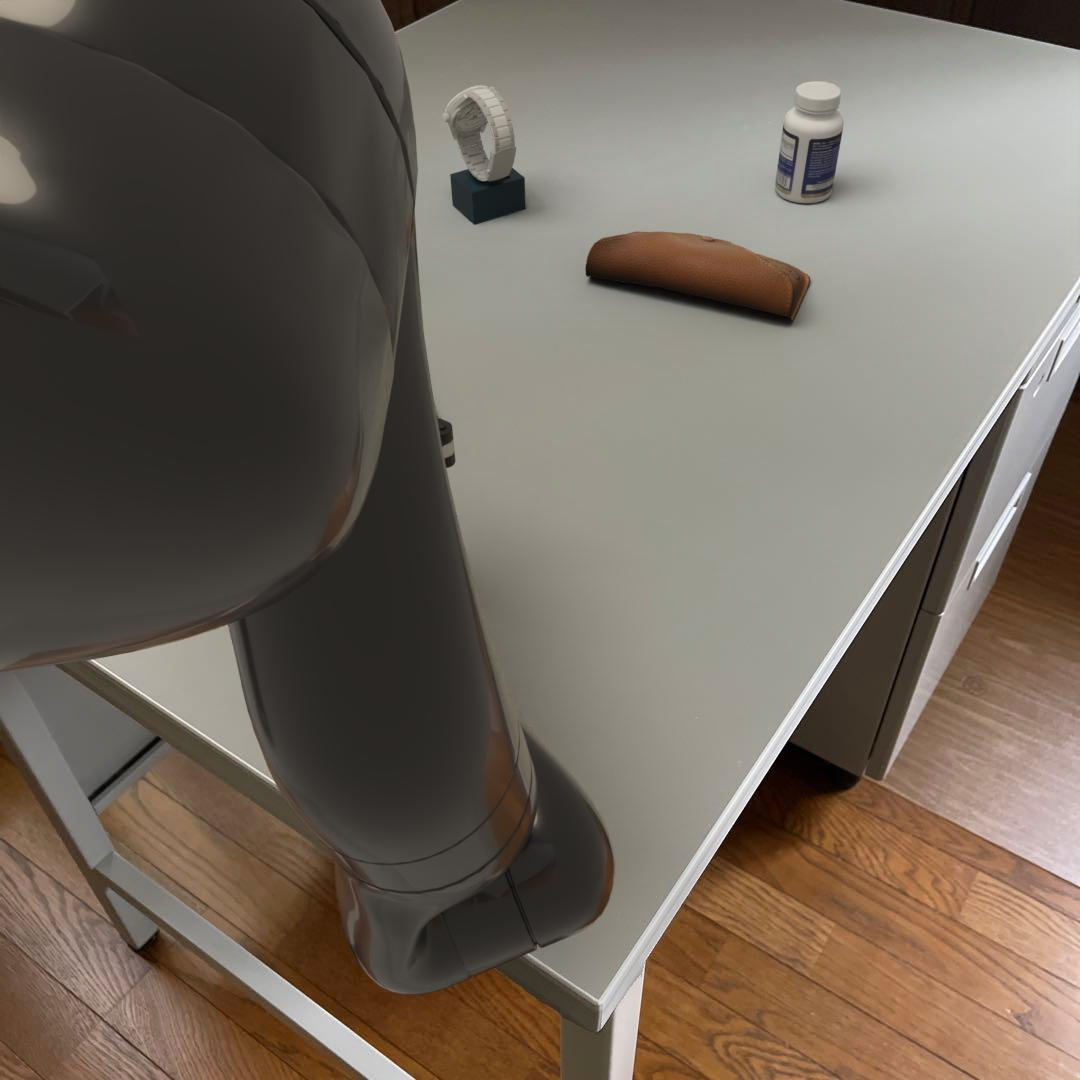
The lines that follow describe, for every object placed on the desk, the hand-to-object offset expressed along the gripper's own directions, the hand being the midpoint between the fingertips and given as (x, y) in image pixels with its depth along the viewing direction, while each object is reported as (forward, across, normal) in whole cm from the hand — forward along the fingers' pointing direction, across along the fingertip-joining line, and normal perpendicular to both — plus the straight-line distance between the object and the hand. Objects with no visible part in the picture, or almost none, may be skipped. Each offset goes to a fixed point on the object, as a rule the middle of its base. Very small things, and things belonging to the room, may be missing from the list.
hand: (312, 375), depth 65 cm
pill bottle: (+30, -51, +13) cm, 61 cm away
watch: (+38, -22, +13) cm, 46 cm away
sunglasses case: (+19, -35, +13) cm, 42 cm away
